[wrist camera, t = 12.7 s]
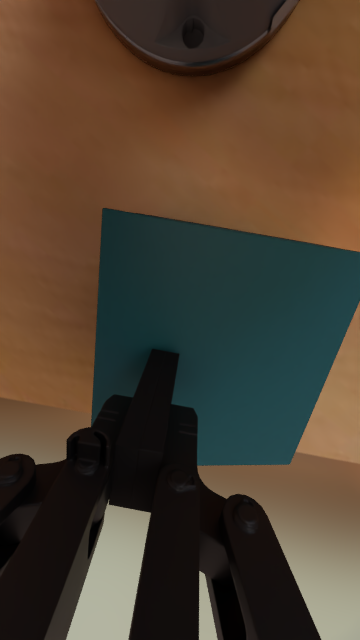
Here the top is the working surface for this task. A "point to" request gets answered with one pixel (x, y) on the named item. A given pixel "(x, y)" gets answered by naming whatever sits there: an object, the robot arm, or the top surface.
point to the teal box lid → (223, 327)
